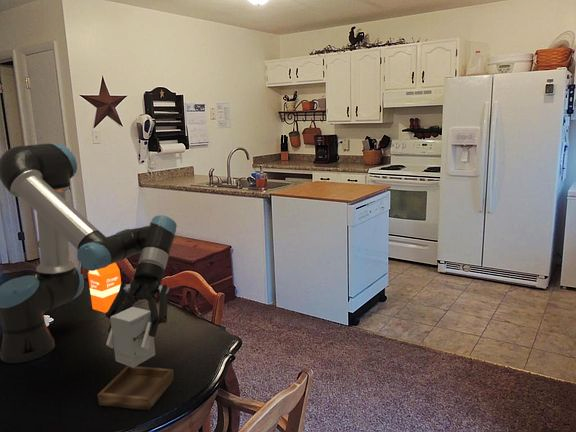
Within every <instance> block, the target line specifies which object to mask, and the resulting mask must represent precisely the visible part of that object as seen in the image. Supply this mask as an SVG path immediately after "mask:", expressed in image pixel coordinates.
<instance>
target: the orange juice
mask: <svg viewBox="0 0 576 432" xmlns="http://www.w3.org/2000/svg"><path fill="white" fill-rule="evenodd" d="M87 277H88V284H89V291H90V292H89V294H90V300H91V306H92V310H95V311H98V312H102V313H104V314H105V313H107V312H108V310H109V308H110V306H111V305H112V303H113V301H114V299H115V297H116V296H117V294H118V292H119V289H120V285H121V284H122V279H121V278H122V277H121V270H120V268H119V266H118V265H117V262H115V263H113V264H110V265H108V266H107V267H105V268H101V269H98V270H94V271H89V270H88V272H87Z"/></svg>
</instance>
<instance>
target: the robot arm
mask: <svg viewBox="0 0 576 432" xmlns="http://www.w3.org/2000/svg"><path fill="white" fill-rule="evenodd" d="M77 171H78V162H77V160H76V157H75V155H74V153H73V152H72V151H71V149H69V148H68V147H67V146H65V145H64V144H61V143H49V142H47V143H41V144H40V143H39V144H29V145H16V146H13V147H11V148H9V149H8V150H6V151H5V152H4V153H3V154H2V155H1V157H0V182H1V183H2V185H3V186H4V187H5V189H6V190H7V191H8V192H9V193H10V194H12V196H13V197H17V198H21V199H23V200H24V201H25V202H26V204H28V205H29V206H30V207H31V208H32V209H33V210H34V211H36V217H37V218H36V220H37V229H38V230H37V231H38V232H37V233H38V241H39V245H40V248H39V255H40V263H39V264H38V265H37V266H36V268H35V270H36V271H35V272H36V274H37V277H35V275H22V276H20V277H15V278H11V279H9V280H7V281H5V282H4V283H2V284H1V285H0V323H1V329H2V340H1V345H0V346H1V347H0V360H1V361H2V362H3V361H4V362H3V363H6V362H7V364H21V363H27V362H30V361H34V360H36V359H40V358H42V357H44V356H45V355H47V354H49V353H50V352H52V351H53V349H54V348H55V347H56V345H55V343H56V342H55V339H54V336H53V335H52V334H51V331H50V329H49V327H48V326H47V324H46V321H45V313H47V312H49V311H51V310H53V309H56V308H58V307H60V306H62V305H65V304H67V303H70V302H72V301H73V300H75V299H76V298H77V297H79V296H80V295H81V294H82V292H83V289H84V284H85V281H84V280H85V279H84V276H83V274H82V273H81V270H80V268H78V267H77V266H76V264H75V263H74V262H73V261H72V260H71V258H70V244H71V245H72V246H73V247H74V248H75V249H77V251H76V252H77V254H76V257H77V261H78V262H79V263H80V264H79V265H80V267H82V268H83V269H84V270H86V271H88V272H89V271H94V270H98V269H101V268H105V267H107V266H108V265H110V264H113V263H117V262H119V261H122V260H125V259H127V258H130V257H133V256H135V255H137V254H138V255H139V254H140V255H139V258H138V262H137V263H138V264H137V265H136V269H135V271H134V276H133V279H132V280H133V281H132V282H130V283H128V284H126V283H124V282H121V285H120V289H119V292H118V294H117V296H116V297H115V299H114V301H113V303H112V305H111V306H110V308H109V310H108V312H105V313H106V314H105V317H106V318H107V319H109V320H110V317H111V316H113V315H115V314H118V313H120V312H122V311H124V310H126V309H129V308H131V307H133V306H134V305H135V304H136V303H137V302H138V301H140V300H141V301H142V300H145V301H147V304H148V309H149V310H148V311H151V321H152V322H148V324H147V328H146V331H145V335H144V338H143V342H142V345H141V347H142V348H143V349H145V350H149V347H150V343H151V339H152V337H156V334H157V332H158V327H159V326H160V325H161V324H166V323H167V321H168V305H169V304H168V300H169V299H168V298H169V294H170V292H171V289H170V287H169V286H168V285H167V284H163V285H161V284H162V282H163V279H164V275H165V270H166V267H167V264H168V261H169V256H170V253H171V249H172V246H173V243H174V239H175V237H176V231H177V227H178V225H177V223H176V221H175V220H174V219H173V218H171V217H170V216H167V215H161V214H160V215H159V214H158V215H155V216H153V218H152V219H151V221H150V222H149V225H146V226H142V227H136V228H127V229H123V230H120V231H119V230H118V231H117V232H115V234H112V235H108V236H106V235H105V234H103V233H102V232H101V231H100V230H99V229H98V228H96V227H95V225H93V224H92V223H91V222H90V221H89V220H88V219H87V218H86V217H85V216H84V215H82V213H80V212H79V211H78V210H77V209H76V208H75V207H74V206H73V205H71V204H70V203H69V202H68V201H67V199H66V191H67V190H68V189H69V188H70V186H71V181H70V179H72V178H73V177H75V175H76V173H77ZM158 292H159V302H158V303H159V306H158V307H157V299H156V295H157V294H158ZM107 332H108V337H107V340H106V344H105V345H106V346H107V347H109V348H111V349H114V344H113V336H112V328H111V322H110V323H109V327H108V329H107Z"/></svg>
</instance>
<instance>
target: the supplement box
mask: <svg viewBox="0 0 576 432" xmlns="http://www.w3.org/2000/svg"><path fill="white" fill-rule="evenodd" d="M109 321H110V323H111V328H112V336H113V344H114V348H113V350H114V357H115V362H117V363H119V364H122V365H125V366H127V365H128V366H130V367H133V368H135V367H136V366H139V365H140V364H142V363H144V362H145V361H148V360H149V359H151V358H152V357H154V356H156V349H155V348H156V347H155V339H154V337H152V339H151V343H150V347H149V350H145V349H143V348H142V347H141V345H142V342H143V338H144V335H145V331H146V328H147V324H148V322H152V321H151V311H150V310H147V309H144V308H140V307H136V306H132V307H131V308H129V309H126V310H124V311H122V312H120V313H118V314H115V315H113V316H111V317H110V319H109Z"/></svg>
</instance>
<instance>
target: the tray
mask: <svg viewBox="0 0 576 432" xmlns="http://www.w3.org/2000/svg"><path fill="white" fill-rule="evenodd" d="M174 375H175V374H174V368H173V369H172V368H163V367H151V366H150V367H149V366H139V365H137V366H136V367H135V368H133V367H130V366H128V365H125V367H123V369H122V370H121V371H120V372H119V373H118V374H117V375H116V376H115V377H114V378H113V379H112V380H111V381H110V382H109V383H108V384H106V386H105V387H104V388H103V389H101V390H100V392H99V393H98V394H97V401H98V405H99V406H105V407H112V408H113V407H114V408H122V409H124V408H125V409H131V410H140V411H141V410H144V411H150V410H151V409H152V408H153V406H154V405H155V404H156V402H158V400H159V399H160V398H161V396H162V395H163V394H164V392H165V391H166V390H167V389H168V388H169V387H170V385H171V384H172V382H174V380H175V376H174Z"/></svg>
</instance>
